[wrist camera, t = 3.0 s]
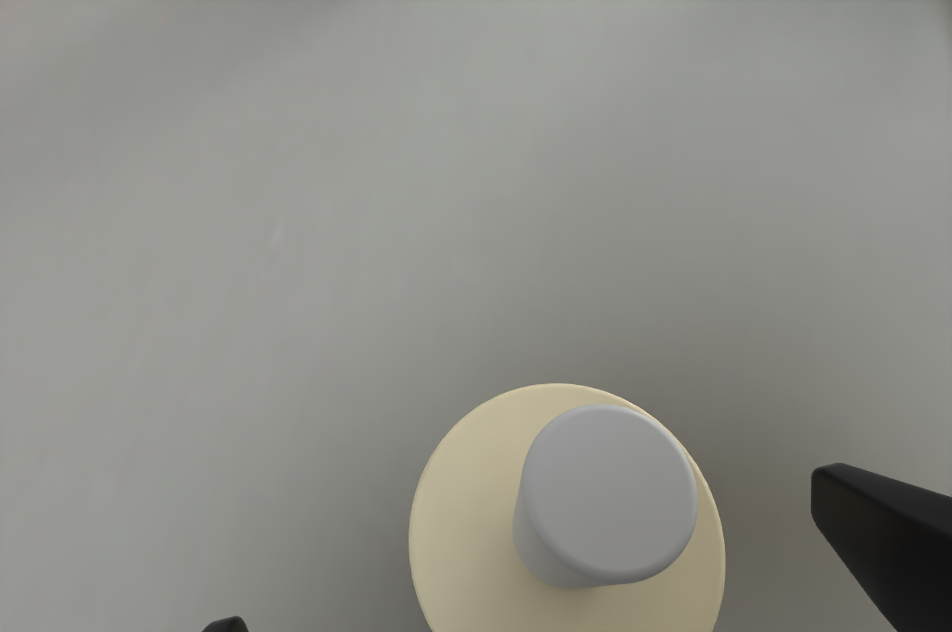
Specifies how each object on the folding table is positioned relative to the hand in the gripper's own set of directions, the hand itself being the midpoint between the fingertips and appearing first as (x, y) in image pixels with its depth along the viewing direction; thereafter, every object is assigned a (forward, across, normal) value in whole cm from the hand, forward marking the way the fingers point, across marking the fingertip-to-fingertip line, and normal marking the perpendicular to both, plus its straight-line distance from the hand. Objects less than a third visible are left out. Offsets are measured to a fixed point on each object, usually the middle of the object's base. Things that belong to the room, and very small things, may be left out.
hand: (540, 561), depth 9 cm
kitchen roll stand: (+6, 0, +6) cm, 8 cm away
